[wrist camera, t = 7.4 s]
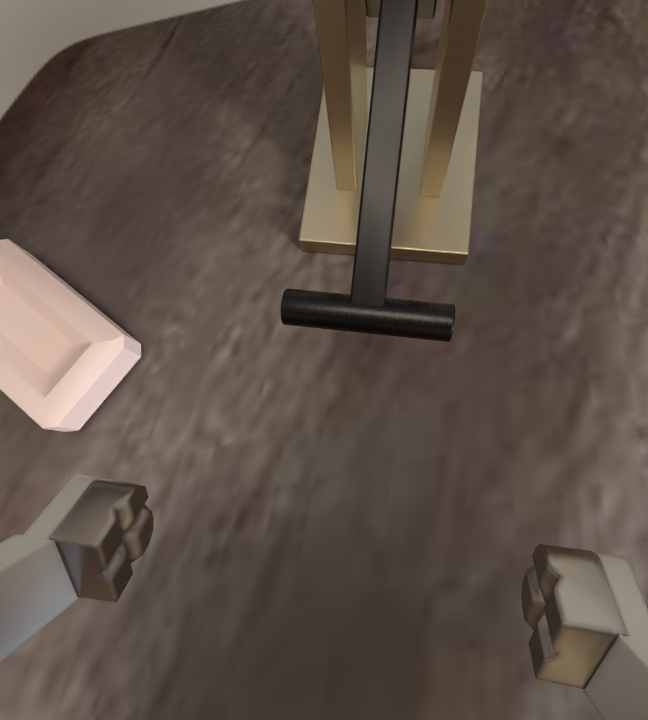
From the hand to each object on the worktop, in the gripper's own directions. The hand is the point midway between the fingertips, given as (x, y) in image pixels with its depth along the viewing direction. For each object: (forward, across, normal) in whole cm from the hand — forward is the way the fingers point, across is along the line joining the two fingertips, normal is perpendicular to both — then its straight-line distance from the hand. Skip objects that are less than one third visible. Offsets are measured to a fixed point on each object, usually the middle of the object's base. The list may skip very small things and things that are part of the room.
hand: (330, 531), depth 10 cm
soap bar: (+12, +16, +4) cm, 21 cm away
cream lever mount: (+20, 0, -3) cm, 20 cm away
